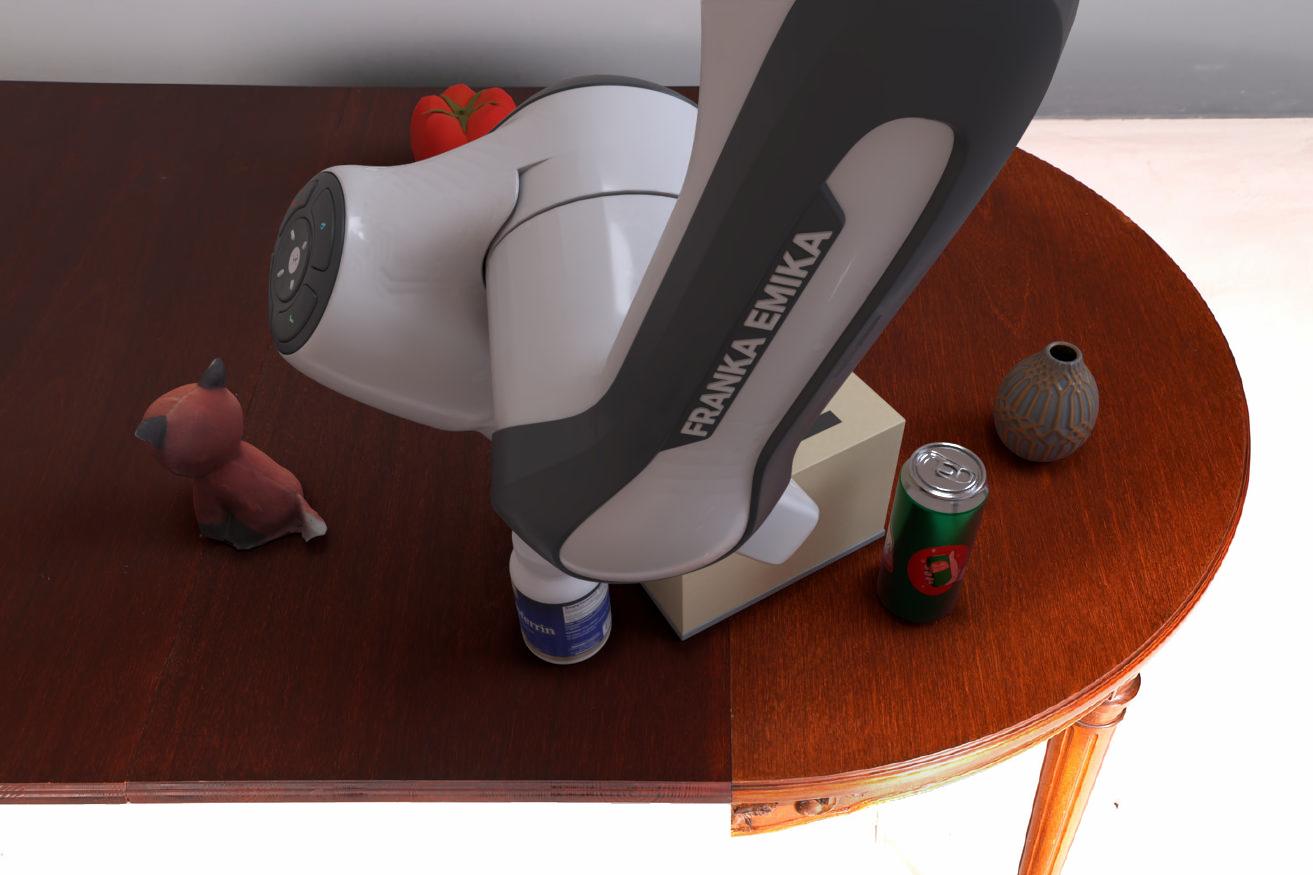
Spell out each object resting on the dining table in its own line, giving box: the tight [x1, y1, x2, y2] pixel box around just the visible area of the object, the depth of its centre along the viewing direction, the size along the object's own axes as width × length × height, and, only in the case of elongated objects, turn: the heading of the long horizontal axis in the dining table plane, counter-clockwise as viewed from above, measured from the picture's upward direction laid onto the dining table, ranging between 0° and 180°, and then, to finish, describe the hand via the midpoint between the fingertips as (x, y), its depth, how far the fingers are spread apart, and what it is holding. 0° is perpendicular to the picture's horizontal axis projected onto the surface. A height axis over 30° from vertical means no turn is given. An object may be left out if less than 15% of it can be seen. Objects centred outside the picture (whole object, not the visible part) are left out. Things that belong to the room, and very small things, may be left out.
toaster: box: [639, 371, 906, 642], centre depth 68 cm, size 11×16×11 cm
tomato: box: [409, 82, 518, 162], centre depth 101 cm, size 11×12×9 cm
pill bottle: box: [509, 530, 612, 665], centre depth 63 cm, size 6×6×10 cm
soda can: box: [876, 441, 990, 624], centre depth 63 cm, size 5×5×12 cm
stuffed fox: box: [134, 357, 328, 550], centre depth 69 cm, size 8×11×12 cm
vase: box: [993, 340, 1100, 463], centre depth 74 cm, size 7×7×9 cm
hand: (747, 442), depth 60 cm, fingers closed, pressing on slider
